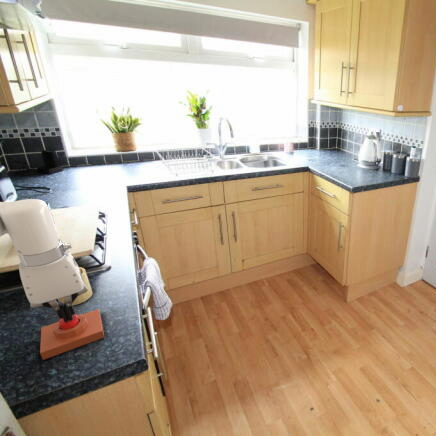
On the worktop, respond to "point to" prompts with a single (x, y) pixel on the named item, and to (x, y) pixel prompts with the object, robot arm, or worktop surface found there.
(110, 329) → the worktop surface
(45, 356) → the panel
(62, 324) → the button
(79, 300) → the cup
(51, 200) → the worktop surface
